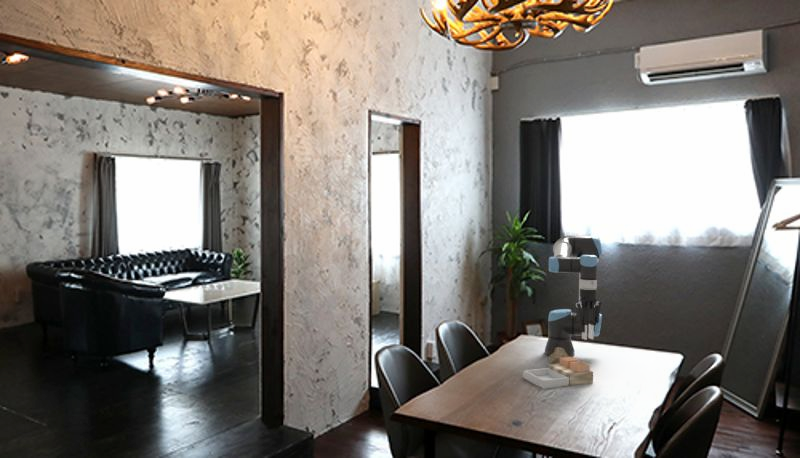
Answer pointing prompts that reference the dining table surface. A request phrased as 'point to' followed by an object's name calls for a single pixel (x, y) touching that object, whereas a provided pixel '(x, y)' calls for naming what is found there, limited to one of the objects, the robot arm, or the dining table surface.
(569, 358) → the tile
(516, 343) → the dining table surface
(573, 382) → the board
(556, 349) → the rock
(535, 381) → the box
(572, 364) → the tile
